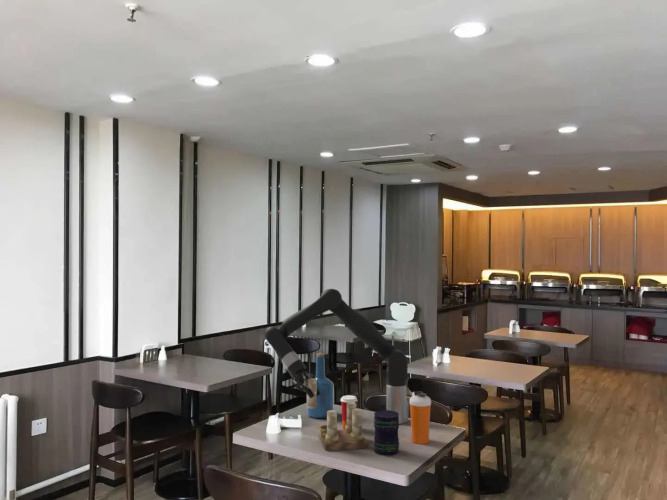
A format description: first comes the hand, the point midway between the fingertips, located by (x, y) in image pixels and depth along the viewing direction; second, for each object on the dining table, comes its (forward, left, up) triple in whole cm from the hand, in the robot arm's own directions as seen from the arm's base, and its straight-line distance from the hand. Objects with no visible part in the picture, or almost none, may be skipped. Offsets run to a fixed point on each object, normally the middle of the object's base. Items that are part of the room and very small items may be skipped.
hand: (315, 395), depth 236 cm
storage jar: (-18, +29, -18) cm, 38 cm away
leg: (+1, -2, -5) cm, 6 cm away
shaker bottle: (-37, +25, -18) cm, 48 cm away
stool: (-7, +12, -17) cm, 22 cm away
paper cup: (-18, -3, -18) cm, 25 cm away
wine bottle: (-15, -28, -18) cm, 36 cm away
